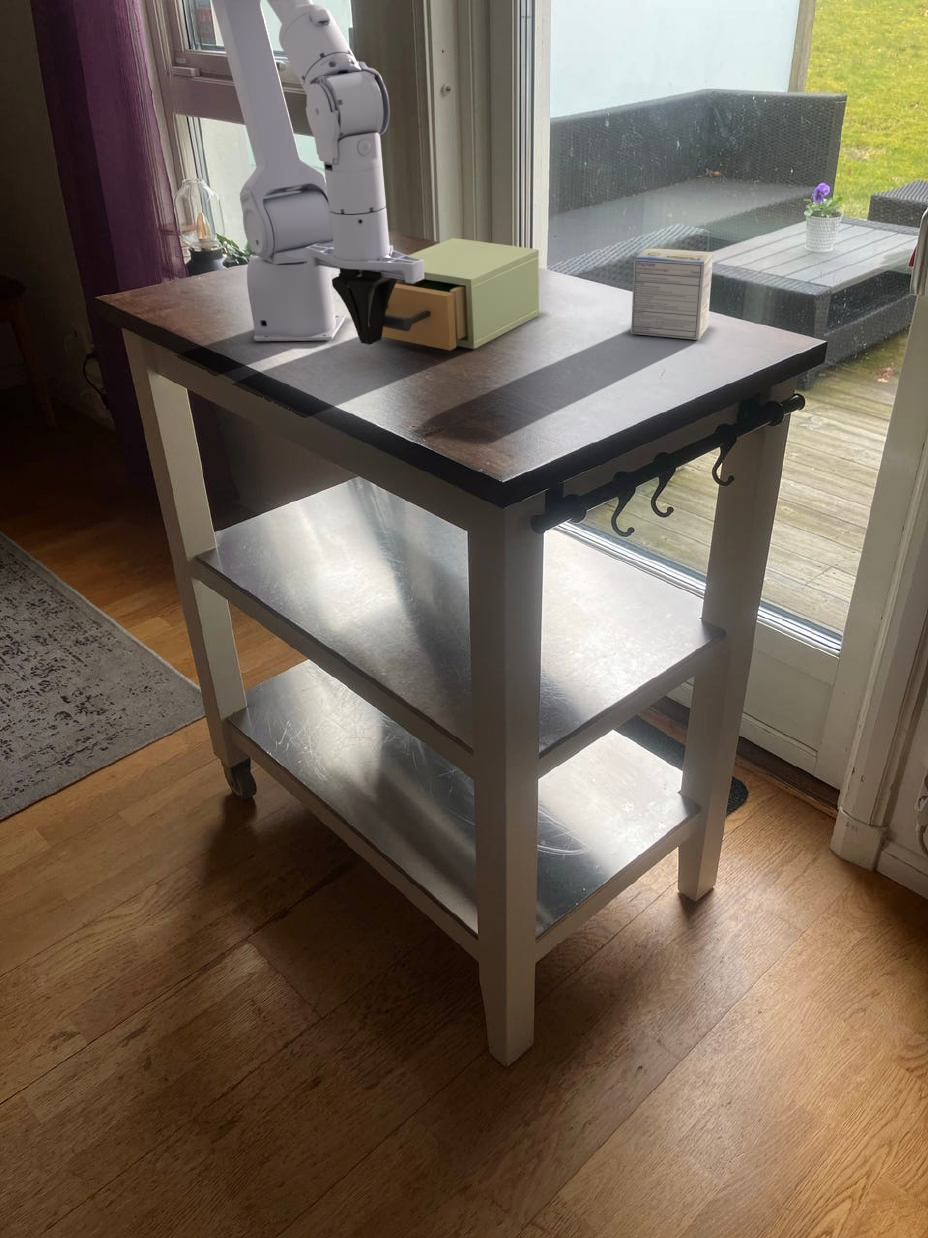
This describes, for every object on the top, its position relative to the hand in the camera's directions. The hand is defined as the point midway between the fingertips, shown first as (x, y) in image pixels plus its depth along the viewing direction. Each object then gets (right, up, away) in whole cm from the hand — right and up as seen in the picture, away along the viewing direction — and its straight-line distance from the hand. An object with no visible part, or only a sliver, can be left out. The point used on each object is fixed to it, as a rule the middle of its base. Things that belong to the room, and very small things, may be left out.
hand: (371, 340), depth 109 cm
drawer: (+6, +3, +8) cm, 10 cm away
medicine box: (+34, +3, +7) cm, 34 cm away
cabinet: (+10, +6, +13) cm, 17 cm away
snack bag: (+7, +5, +9) cm, 13 cm away
